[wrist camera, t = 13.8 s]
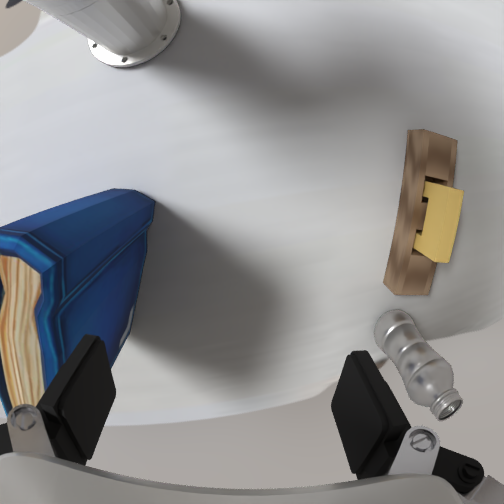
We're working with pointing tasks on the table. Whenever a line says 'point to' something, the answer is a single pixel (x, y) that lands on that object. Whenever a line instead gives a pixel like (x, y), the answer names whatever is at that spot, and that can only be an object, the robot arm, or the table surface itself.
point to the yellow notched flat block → (439, 222)
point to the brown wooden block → (417, 210)
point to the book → (68, 285)
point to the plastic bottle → (418, 364)
